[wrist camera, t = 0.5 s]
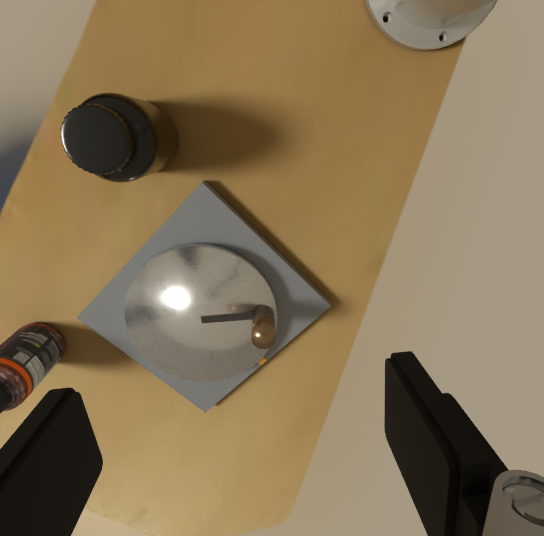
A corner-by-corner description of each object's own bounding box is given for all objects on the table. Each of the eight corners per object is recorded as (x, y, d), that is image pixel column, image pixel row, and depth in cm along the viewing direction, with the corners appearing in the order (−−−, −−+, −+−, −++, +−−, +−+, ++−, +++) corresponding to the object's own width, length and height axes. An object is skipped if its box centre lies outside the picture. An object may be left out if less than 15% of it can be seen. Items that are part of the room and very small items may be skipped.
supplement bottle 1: (19, 358, 46) (-54, 427, 35) (16, 317, 44) (-64, 377, 33) (68, 364, 46) (10, 434, 36) (67, 324, 44) (4, 386, 34)
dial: (145, 378, 45) (127, 417, 39) (113, 249, 39) (85, 272, 33) (281, 368, 45) (284, 405, 39) (270, 236, 39) (271, 256, 33)
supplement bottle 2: (170, 181, 38) (131, 203, 27) (105, 159, 37) (37, 172, 26) (187, 115, 36) (152, 109, 25) (118, 89, 35) (49, 71, 24)
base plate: (204, 180, 38) (201, 182, 37) (329, 300, 44) (331, 307, 42) (82, 311, 43) (75, 318, 42) (207, 404, 49) (205, 413, 47)
